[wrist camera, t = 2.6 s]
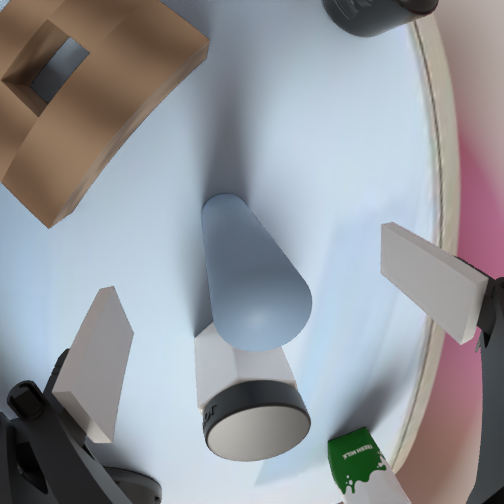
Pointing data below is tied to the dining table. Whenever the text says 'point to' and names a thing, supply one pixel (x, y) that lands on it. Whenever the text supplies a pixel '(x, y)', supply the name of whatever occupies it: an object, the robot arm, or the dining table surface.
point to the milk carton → (363, 471)
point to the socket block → (83, 91)
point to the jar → (247, 400)
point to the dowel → (250, 279)
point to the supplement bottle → (376, 14)
